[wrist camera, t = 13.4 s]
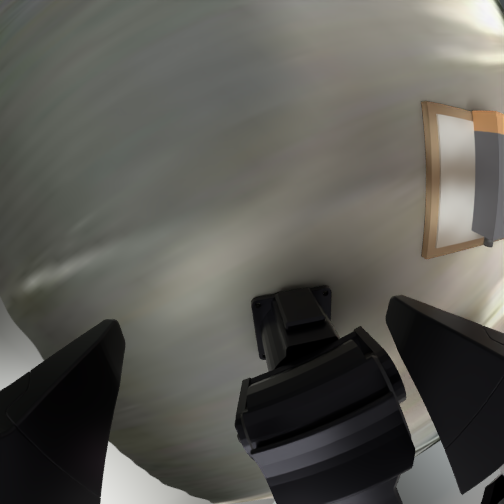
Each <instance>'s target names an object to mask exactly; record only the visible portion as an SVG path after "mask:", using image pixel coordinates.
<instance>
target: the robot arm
mask: <svg viewBox="0 0 504 504" xmlns="http://www.w3.org/2000/svg"><path fill="white" fill-rule="evenodd" d="M324 291H327V292H326V293H324V294H323V292H324ZM256 303H260V305H258V306H256V305H255V304H256ZM251 306H252V313H253V320H254V326H255V333H256V339H257V346H258V352H259V357H260V359H262V360H266V361H267V366H268V371H269V372H267V373H264V374H262V375H259V376H257V377H254V378H252V379H251V378H248V379H245V380H243V381H242V386H241V391H240V397H239V402H238V407H237V412H236V420H235V428H236V430H237V432H238V435H237V437H238V440H239V442H240V443H242V445H243V447H244V449H245V450H246V452H247V454H248V455H249V456H250V457H251V458H252V459H253V460H254V461H256V463H257V464H258V466H259V467H260V469H261V471H262V473H263V474H264V476H265V478H266V480H267V482H268V485H269V487H270V489H271V492H272V494H273V497H274V499H275V501H276V503H277V504H402V501H401V498H400V496H399V493H398V490H397V488H396V486H397V483H398V480H399V478H400V475H401V474H402V473H404V472H406V471H408V470H409V469H411V468H412V466H413V461H414V456H415V447H414V445H413V442H412V440H411V434H410V431H409V429H408V426H407V423H406V420H405V418H404V415H403V412H402V410H401V407H400V403H401V402H403V401H405V400H406V392H405V388H404V385H403V382H402V379H401V377H400V375H399V373H398V370H397V369H396V367H395V365H394V363H393V361H392V360H391V358H390V357H389V355H388V354H387V352H386V351H385V350H384V349H383V348H382V347H381V346H380V345H379V344H378V343H377V342H376V341H375V340H374V339H373V338H372V337H371V336H370V335H369V334H368V333H367V332H366V331H365V330H364V329H363V328H362V327H361V326H360V327H358V328H356V329H354V332H352V333H350V334H348V335H346V336H344V337H342V338H340V337H339V336H338V334H337V332H336V330H335V329H334V327H333V325H332V323H331V322H330V320H331V290H330V288H329V287H328V286H319V287H314V288H303V289H297V290H291V291H286V292H280V293H277V294H275V295H269V296H263V297H257V298H254V299H253V300H252V301H251ZM386 323H387V326H388V328H389V330H390V333H391V335H392V337H393V340H394V342H395V344H396V347H397V349H398V352H399V354H400V356H401V358H402V360H403V362H404V364H405V366H406V368H407V370H408V372H409V374H410V376H411V378H412V380H413V382H414V383H415V385H416V387H417V389H418V392H419V394H420V396H421V398H422V400H423V402H424V404H425V406H426V408H427V410H428V412H429V415H430V417H431V419H432V421H433V423H434V426H435V428H436V430H437V432H438V435H439V437H440V440H441V442H442V444H443V447H444V449H445V452H446V454H447V457H448V460H449V462H450V465H451V467H452V470H453V473H454V476H455V478H456V481H457V484H458V487H459V490H460V493H461V494H462V495H463V494H464V493H466V492H467V491H469V490H470V489H472V488H473V487H475V486H476V485H477V484H479V483H480V482H482V481H483V480H484V479H486V478H487V477H488V476H490V475H491V474H492V473H493V472H495V471H496V470H497V469H498V468H499V469H500V471H501V474H500V475H499V476H498V477H497V478H495V479H494V480H493V481H492V482H491V483H490V484H489V485H487V486H486V488H485V491H484V495H483V499H482V502H481V504H504V333H501V332H499V331H496V330H493V329H491V328H488V327H485V326H482V325H480V324H478V323H475V322H472V321H470V320H467V319H464V318H462V317H459V316H457V315H454V314H451V313H449V312H446V311H443V310H441V309H438V308H435V307H433V306H430V305H428V304H425V303H422V302H419V301H417V300H414V299H411V298H409V297H406V296H403V295H398V296H393V297H392V298H391V299H390V302H389V306H388V310H387V314H386ZM124 352H125V339H124V336H123V334H122V331H121V328H120V325H119V322H118V321H117V320H115V319H106V320H104V321H102V322H101V323H99V324H98V325H96V326H95V327H93V328H92V329H90V330H89V331H87V332H86V333H84V334H83V335H81V336H80V337H78V338H77V339H75V340H74V341H72V342H71V343H69V344H68V345H67V346H65V347H64V348H62V349H61V350H59V351H58V352H56V353H55V354H53V355H52V356H51V357H49V358H48V359H46V360H45V361H43V362H42V363H41V364H39V365H38V366H36V367H35V368H34V369H32V370H31V371H30V372H28V373H26V374H25V375H23V376H22V377H21V378H19V379H18V380H16V381H15V382H13V383H12V384H11V385H9V386H7V387H6V388H4V389H2V390H1V391H0V504H100V499H101V498H100V497H101V488H102V480H103V471H104V465H105V457H106V452H107V446H108V440H109V434H110V429H111V424H112V419H113V414H114V409H115V405H116V400H117V396H118V392H119V387H120V381H121V373H122V366H123V359H124ZM263 354H265V355H263Z"/></svg>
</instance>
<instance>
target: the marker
mask: <svg viewBox="0 0 504 504" xmlns="http://www.w3.org/2000/svg"><path fill="white" fill-rule="evenodd" d="M472 115H473V125H474V138H475V196H474V210H473V220H472V229H471V231H473V232H475V233H477V234H479V235H481V236H483V237H484V241H483V245H485V246H487V247H492V246H493V241H495V240H499V239H502V238H504V114H502V113H499V112H497V111H472Z"/></svg>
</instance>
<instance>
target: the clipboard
mask: <svg viewBox="0 0 504 504" xmlns="http://www.w3.org/2000/svg"><path fill="white" fill-rule="evenodd" d="M421 104H422V113H423V122H424V133H425V149H426V210H425V226H424V237H423V247H422V257H424V258H425V259H430V258H434V257H438V256H442V255H446V254H450V253H454V252H458V251H462V250H466V249H469V248H473V247H477V246H480V245H483V241H484V237H483V236H481V235H479V234H477V233H475V232H473V231H471V229H472V220H473V210H474V196H475V138H474V125H473V115H472V112H471V111H467V110H463V109H460V108H456V107H452V106H447V105H443V104H438V103H434V102H429V101H424V102H421ZM502 239H504V238H502ZM502 239H499V240H502ZM495 241H498V240H495ZM495 241H493V242H495Z"/></svg>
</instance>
